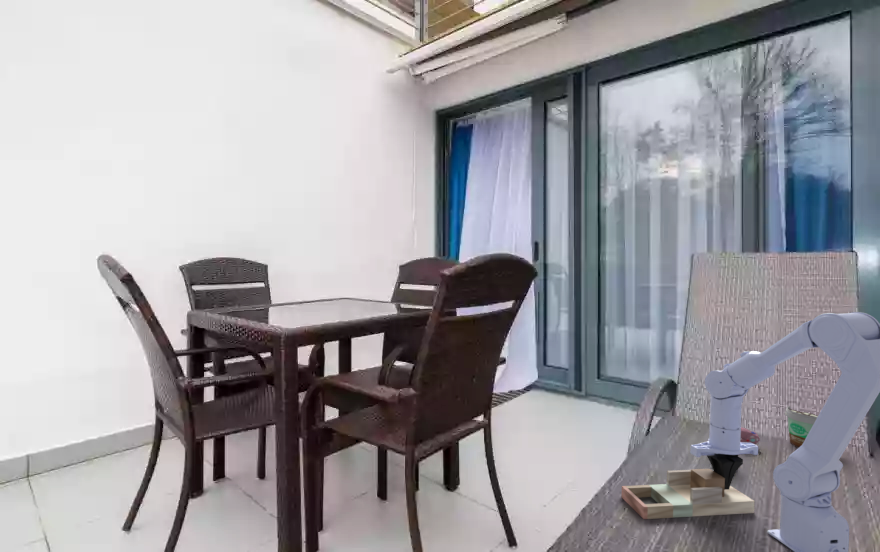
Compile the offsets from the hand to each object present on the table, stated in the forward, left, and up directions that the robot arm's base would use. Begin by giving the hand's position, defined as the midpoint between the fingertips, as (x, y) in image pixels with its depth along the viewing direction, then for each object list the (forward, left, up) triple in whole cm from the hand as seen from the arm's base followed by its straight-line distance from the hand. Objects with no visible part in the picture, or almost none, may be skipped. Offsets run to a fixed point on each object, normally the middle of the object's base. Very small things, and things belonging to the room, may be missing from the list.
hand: (723, 487), depth 97 cm
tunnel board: (0, +9, -3) cm, 9 cm away
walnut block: (0, +4, -1) cm, 4 cm away
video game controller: (+29, -28, -4) cm, 41 cm away
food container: (+26, -47, -4) cm, 54 cm away
